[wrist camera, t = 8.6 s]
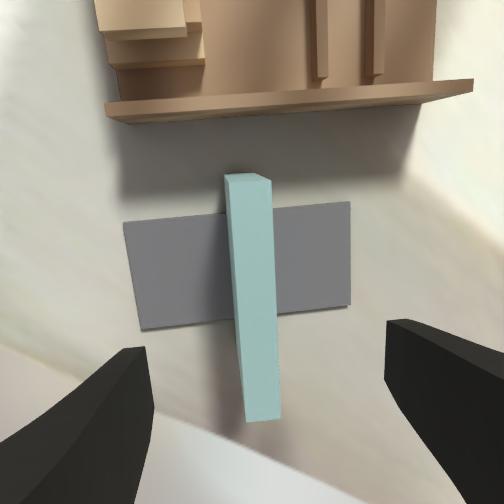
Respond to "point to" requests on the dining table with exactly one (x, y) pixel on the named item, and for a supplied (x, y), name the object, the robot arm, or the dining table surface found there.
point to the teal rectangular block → (254, 292)
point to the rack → (268, 56)
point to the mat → (219, 269)
